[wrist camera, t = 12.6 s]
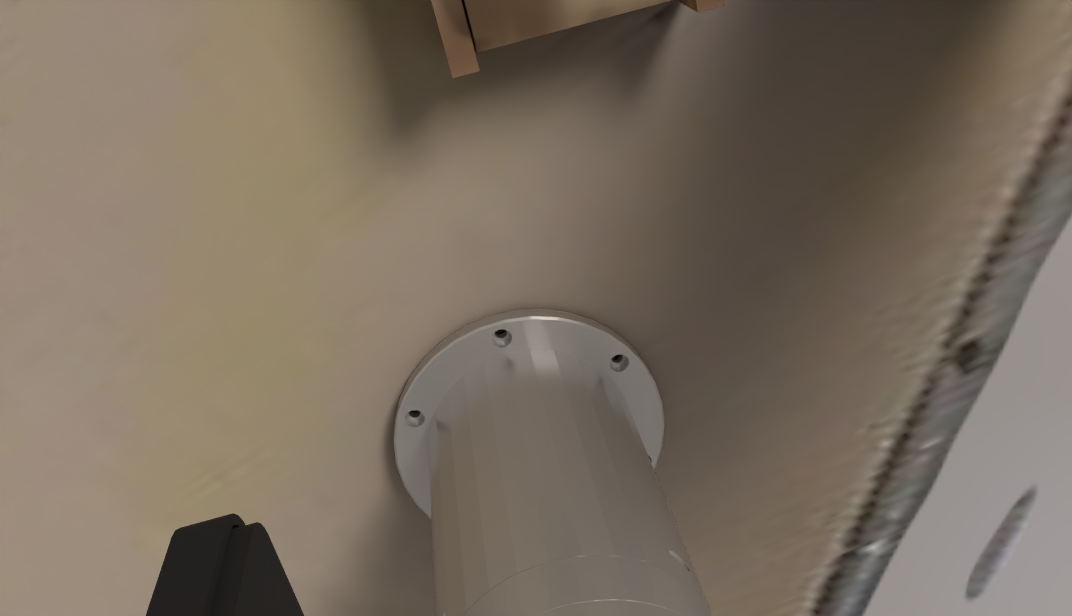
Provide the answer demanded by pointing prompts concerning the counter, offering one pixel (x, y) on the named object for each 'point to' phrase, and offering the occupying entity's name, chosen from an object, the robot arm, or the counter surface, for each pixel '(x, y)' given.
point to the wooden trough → (522, 22)
